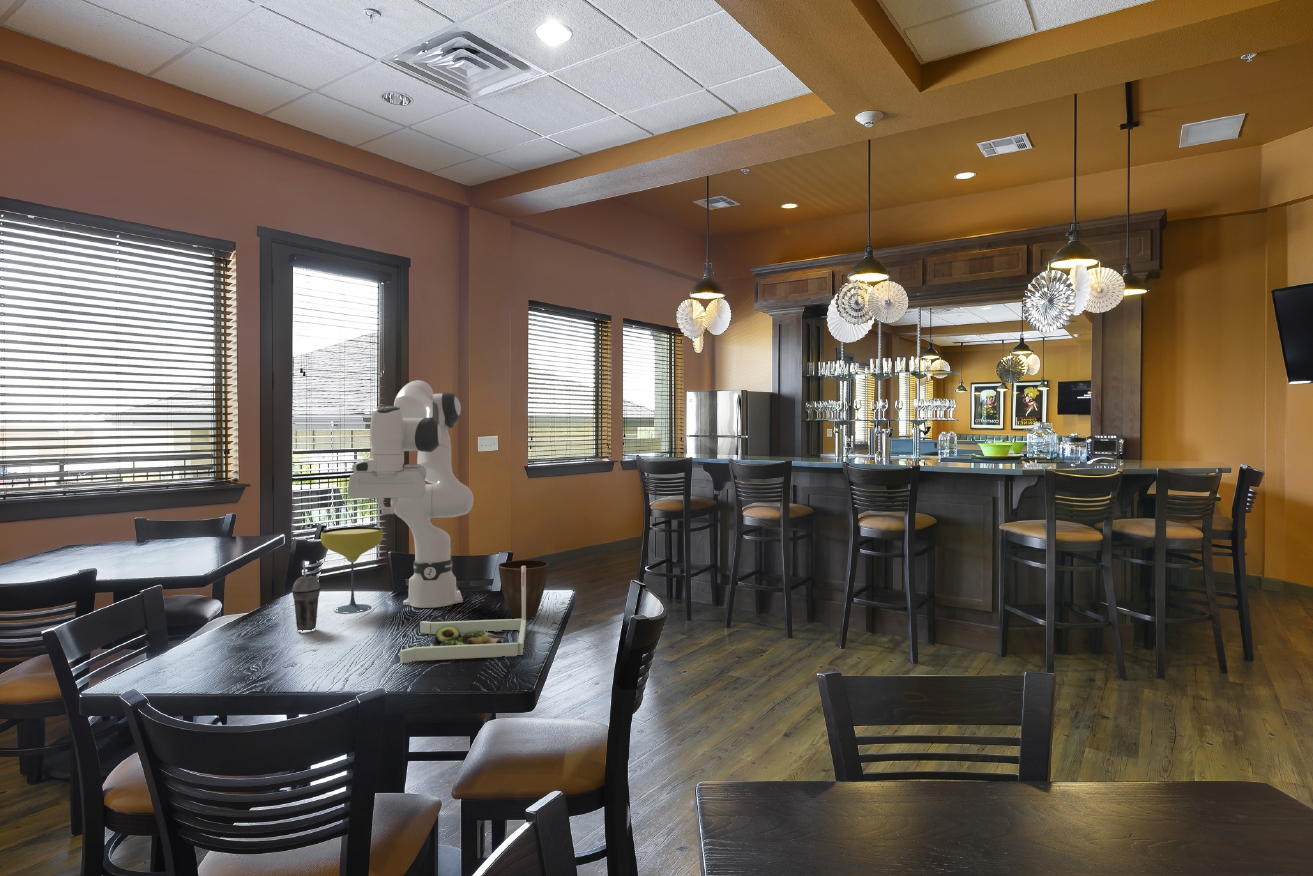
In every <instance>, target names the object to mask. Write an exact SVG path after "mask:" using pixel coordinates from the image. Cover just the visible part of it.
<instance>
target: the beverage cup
mask: <svg viewBox="0 0 1313 876" xmlns="http://www.w3.org/2000/svg"><path fill="white" fill-rule="evenodd" d="M302 569H303V570H302V571H303V576H300V577H299V578H297V579H296V580H295V581H294V583H293V586H292V590H291V592H292V599H293V602H294V611H295V624H296V631H298V630H302V631H303V630H312V629H314V628H315V629H316V625H317V618H318V606H319V596H320V592H321V589H322V588H321V584H320V582H319V580H318V579H317V578H316V577H314V576H313V575H308V574H307V571H306V562H305V560H302Z"/></svg>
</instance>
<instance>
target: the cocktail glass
mask: <svg viewBox="0 0 1313 876" xmlns="http://www.w3.org/2000/svg"><path fill="white" fill-rule="evenodd" d="M383 539H384V534H383V528H381V527H378V526H377V527H375V526H350V527H349V526H348V527H339V528H330V529H325V530H322V531H321V532H320V542H321V545H322V546H323V547H324V548H326V549H327V550H329V551H332V552H334V553H336V554H339V555H341V556H342V557H344V559H346V560H347V561H348V562H349V563H351V564H350V567H351V568H350V569H351V580H350V581H351V583H350V584H351V587H350V588H351V589H350V590H351V591H350V592H351V593H350V602H349V604H347V605H342V606H341V605H340V606H338V607H337V608H338V609H336V610H338V612H357V611H360V610H366V611H368V610H367V609H368V608H370V609H371V608H372V606H371V605H369V604H365V603H364V604H363V603H356V601H355V600H356V599H355V589H354V588H355V586H354V585H355V584H354V583H355V582H354V578H355V577H354V573H355V572H354V568H355V567H354V563H356V562H357V561H358V559H359V558H360V556H361V555H363V554H365V553H366V552H368V551H370V550H372V549H374V548H375V547H377V546H378V545H379V544H380V543H381V542H382V541H383ZM357 613H358V612H357Z"/></svg>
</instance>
